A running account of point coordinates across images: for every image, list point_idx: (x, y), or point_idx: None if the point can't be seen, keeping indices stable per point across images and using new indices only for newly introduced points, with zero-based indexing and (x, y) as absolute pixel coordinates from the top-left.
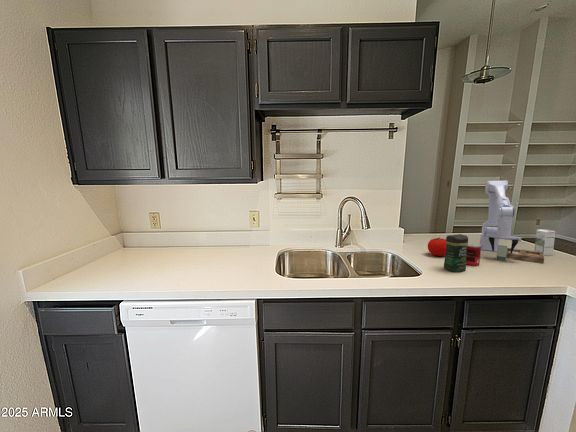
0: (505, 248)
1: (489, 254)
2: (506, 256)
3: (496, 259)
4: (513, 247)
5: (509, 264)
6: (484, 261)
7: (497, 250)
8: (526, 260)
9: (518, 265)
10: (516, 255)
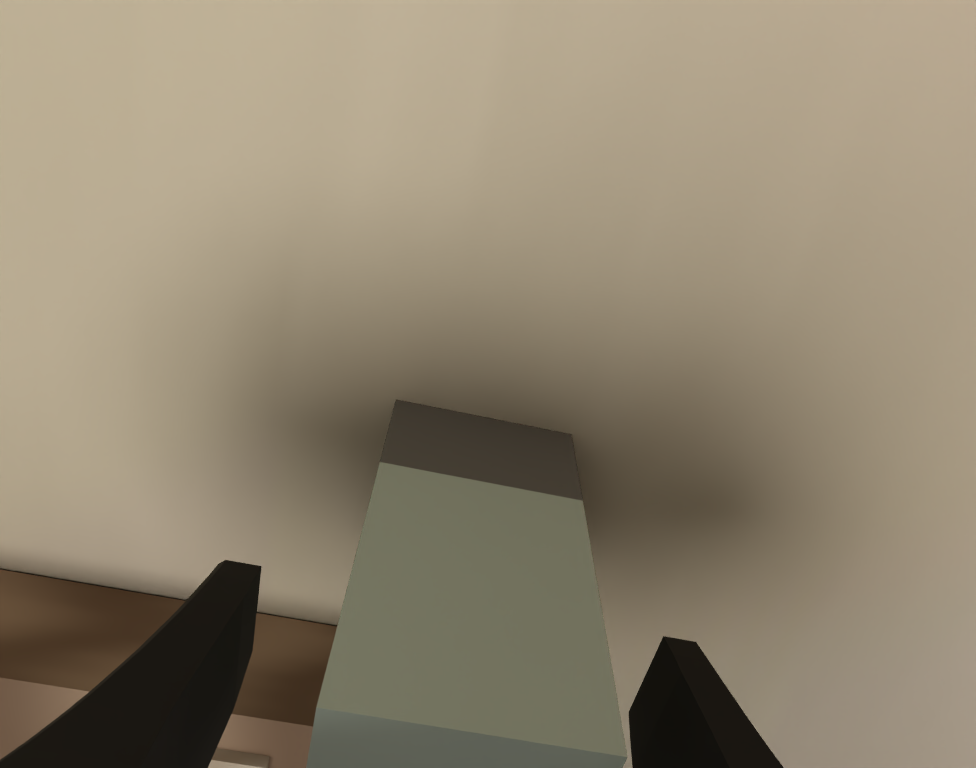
0: (374, 673)
1: None
2: None
3: (570, 443)
4: (86, 717)
5: (349, 175)
6: (898, 206)
7: (596, 621)
8: (14, 585)
9: (160, 172)
10: None
